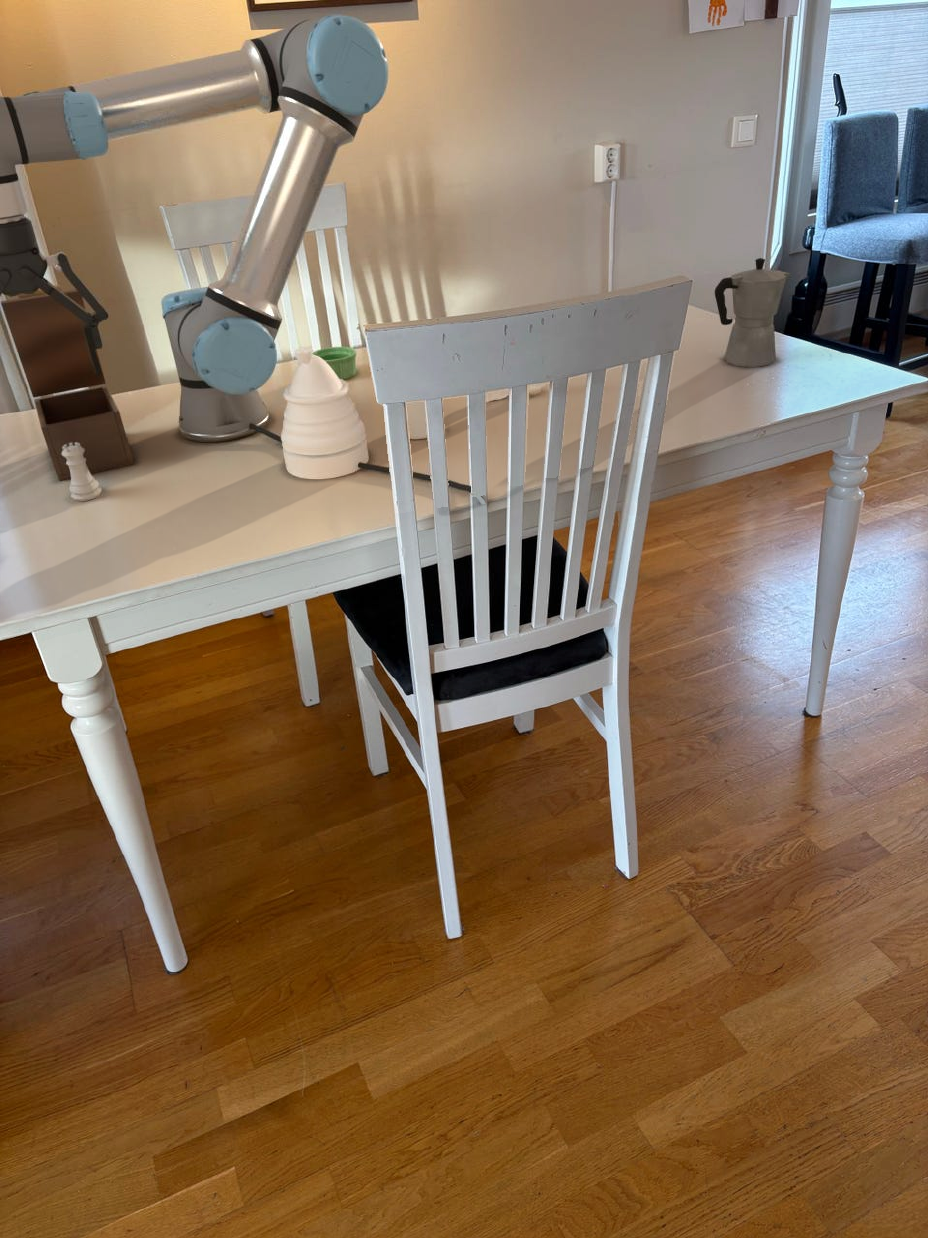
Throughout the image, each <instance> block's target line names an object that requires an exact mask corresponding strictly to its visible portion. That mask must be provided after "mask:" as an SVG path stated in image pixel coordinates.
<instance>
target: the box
mask: <svg viewBox="0 0 928 1238" xmlns="http://www.w3.org/2000/svg"><path fill="white" fill-rule="evenodd" d="M33 401H34V406H35V410H36V414H37V418H38V421H39V426H40V429H41V432H42V435H43V438H44V442H45V443H46V447H47V450H48V453H49V456H50V459H51V462H52V464H53V468H54V469H55V470H54V471H55V474H56V476H57V480H58V481H60V482H61V481H64V480H70V479H71V473H70V469H69V466H68V465H67V464H66V462H67V459H66V458H65V457H64V456H62V454H61V453H62V451H63V449H62V447H64V446H63V445H65V444H66V445H67V447H69V446H70V445H69V443H73V445H75V442H78V443H80V446H81V447H83V448H84V449H85V451H84V453H83V457H84V458H85V459H86V461H85V463H86V466H87V468H88V470H89V472H90V474H91V475H92V474H95V473H100V472H105V471H108V470H113V469H117V468H121V467H125V466H130V465H134V464H135V462H134V458H133V454H132V451H131V448H130V444H129V441H128V437H127V433H126V430H125V426H124V422H123V420H122V416H121V412H120V410H119V408H118V406H117V405H116V402H115V399H114V398H113V396H112V394H111V392H110V390H109V388H108V386H107V384H104V385H102V386H101V385H99V386H94V387H88V388H83V389H78V390H73V391H68V392H64V393H58V394H53V395H48V396H42V397H40V398H38V397H37V398H34V399H33Z"/></svg>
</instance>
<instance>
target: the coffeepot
mask: <svg viewBox="0 0 928 1238" xmlns="http://www.w3.org/2000/svg"><path fill="white" fill-rule="evenodd" d="M765 262H766V259H765V258H764V257H763V258H762V257H759V258H756V259H755V268H751V269H747V270H743V271H740V272H737V273H734V274H732V275H731V276H729V277H724V278H722V279H721V280H720V281H719V282H718V284H717V285H716V286H715V289H714V296H715V302H716V306H717V311H718V316H719V320H720V324H721V325H722V326H728V325H731V324H732V327H731V329H730V334H729V339H728V342H727V346H726V350H725V354H724V359H725V361H726V363H728V364H730V365H732V366H736V367H743V368H759V367H765V366H769V365H771V364H773V363H774V362H775V361H776V360H777V358H776V357H777V356H776V354H777V352H776V335H775V325H774V316H775V315H777V313H778V310H779V307H780V302H781V299H782V294H783V291H784V287H785V283H786V280H787V278H788V277H789V276H791V273H790V272H787V271H782V270H773V269H767V268H764V266H765ZM727 289H731V290H732V291H731V292H732V308H733V309H732V310H733V314H734V315H735V316H734V317H735V319H734V320H733V318H728V317H727V315H728V309H727V306H726V296H725V291H726V290H727ZM733 321H734V323H733Z"/></svg>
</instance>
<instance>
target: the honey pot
mask: <svg viewBox="0 0 928 1238" xmlns="http://www.w3.org/2000/svg"><path fill="white" fill-rule="evenodd" d="M313 352H314V350H313V348H311V347H301V348H297V349H295V350H294V355H295V358H296V359H297V361H298V362H299V363H298V364H297V366H296V368H295V370H294V373H293V377H292V380H291V383H290V385H288V386H287V387H286V388H285V389H284V390H283V394H282V396H283V398H284V400H285V401H286V407H285V409H284V411H283V417H284V419H283V422H282V430H281V433H280V437H281V440H282V443H281V446H282V452H283V457H284V463H285V468H286V470H287V472H288V473H289V474H290V475H292V476H294V477H297V478H300V479H306V480H328V479H334V478H339V477H344V476H347V475H350V474H352V473H355V472H357V471H359V470H361V469H362V468H359V467H358V463H360V462H361V463H366V464H368V462H369V457H370V456H369V449H368V443H367V436H366V428H365V424H364V422H363V421H362V420H361V418H360V414H359V412H358V411H357V410H356V405H355V403H354V402H353V400H352V398H351V397H350V395H349V393H351V385H350V383H348V381H346V380H342V379H339V378H338V377H337V375H336V374H335V372H334V371H333V370H332V368H331V367H330V366H329V365H328V364H327V363H326V362H325V361H324V360H323V359H322V358H320V357H318V356H316V355H313Z"/></svg>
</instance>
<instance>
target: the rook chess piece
mask: <svg viewBox="0 0 928 1238" xmlns="http://www.w3.org/2000/svg"><path fill="white" fill-rule="evenodd" d="M69 445H70V446H69V447H67V445H66V444H65V445H63V446H64V447H62V449H63V451H62V453H61V454H62V456H64V457H65V458H66V459H67V462H66V464H67V465H68V466H69V469H70V473H71V478H70V483H69V484H70V485H69V487H68V488H69V492H70V493H71V494H70V497H71V498H72V499H73V500H75V501H77V502H87V501H91V500H93V499H96V498H98V497H99V496H100V495H101V493H102V491H103V489H102V487H100V482H99V481H98V480H97V479H95V476H93V475H92V473H91V474H90V472H89V470H88V468H87V466H86V463H85V461H86V459H85V458H84V457H83V453H84V451H85V449H84V448H83V447H81V446H80V443H78V442H75V445H73V443H69Z"/></svg>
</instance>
